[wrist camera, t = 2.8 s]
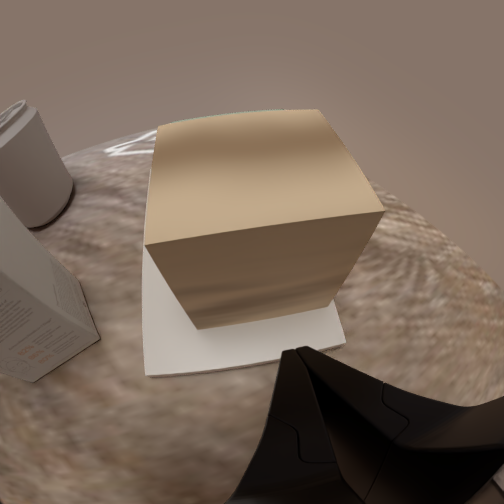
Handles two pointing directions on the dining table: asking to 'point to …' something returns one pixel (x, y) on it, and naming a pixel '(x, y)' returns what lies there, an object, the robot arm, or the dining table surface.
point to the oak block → (256, 214)
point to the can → (31, 167)
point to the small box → (37, 305)
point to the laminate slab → (221, 333)
